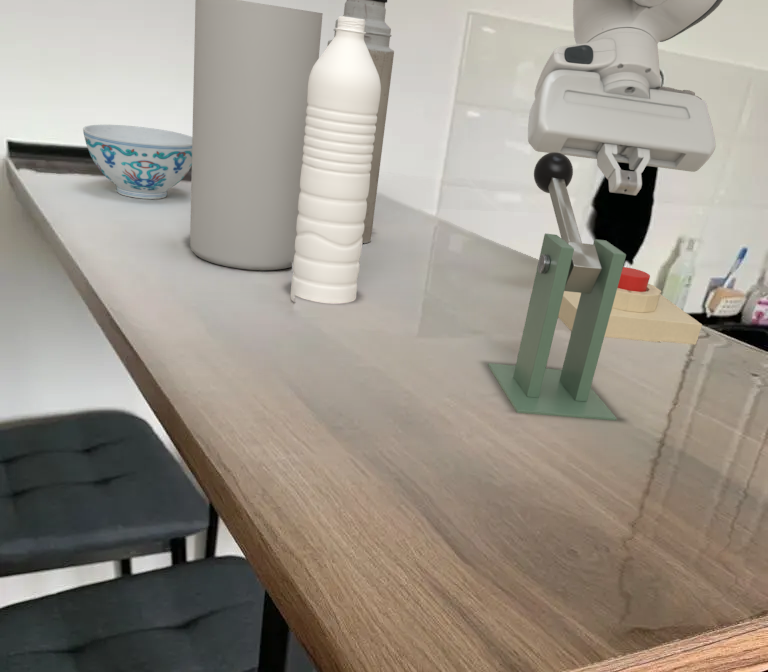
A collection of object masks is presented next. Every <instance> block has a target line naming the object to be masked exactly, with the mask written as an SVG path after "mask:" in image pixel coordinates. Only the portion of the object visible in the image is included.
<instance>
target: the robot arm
mask: <svg viewBox="0 0 768 672" xmlns="http://www.w3.org/2000/svg"><path fill="white" fill-rule="evenodd" d="M722 2H723V0H573V1H572V19H573V20H572V23H573V24H572V25H573V37H574V41H575V44H571V45H563V46H559V47H556V48H554V49H553V51H552V52H551V55H550V56H549V57H548V59H547V61H546V62H545V64H544V66H543V68H542V71H541V73H540V75H539V78H538V80H537V82H536V85H535V89H534V100H533V103H532V105H531V107H530V110H529V116H528V123H527V142H528V144H529V145H530V147H531V148H532V149H533V150H534V151H536V152H538V153H545V154H548V153H552V152H558V153H561V154H564V155H565V156H570V157H577V158H583V159H584V158H585V159H591V160H592V159H593V160H596V166H597V167H598V169H599V170H600V171H601V173H602V174H603V176H604V177H605V178H606V180H607V181H608V191H609V193H613V194H623V195H628V196H637V195H638V193H640V190H641V189H642V186H643V177H642V173H643V172H644V170H645V168H646V167H653V168H659V169H667V170H676V171H683V172H690V173H695V172H698V171H699V170H700V169H702V167H703V166H704V165H706V163H707V162H708V160H709V159H710V158H711V157H712V155H714V152H715V150H716V147H717V145H716V136H715V131H714V128H713V124H712V120H711V117H710V113H709V106H708V103H707V102H706V100H704V99H702V98H701V97H699V96H698V95H696V92H695V91H692V90H690V89H678V88H675V87H674V88H673V87H669V86H663V85H662V83H661V82H662V80H661V69H660V58H659V46H658V45H659V43H664V42H666V41H669V40H671V39H673V38H675V37H677V36H678V35H680V34H682V33H684V32H686V31H688V30H689V29H690V28H692V27H694V26H696V25H697V24H699V23H700V22H702V21H704V20H705V19H706V18H707V17H708V16H710V14H712V13H713V12H714V11H716V9H717V8H718V7H719V6H720V5H721V4H722ZM619 163H623V164H628V169H629V170H624V169H622V168H621V167H620V164H619Z"/></svg>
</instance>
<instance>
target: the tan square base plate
mask: <svg viewBox="0 0 768 672" xmlns="http://www.w3.org/2000/svg"><path fill="white" fill-rule="evenodd" d="M580 296H581V293H578V292H569V291H564V294H563V298H562V302H561V307H560V311H559V315H558V318H559V319H560V321H562V323H563V324H564V325H565V326H566V327H567V328H568V329H569V330H570V331H571V332H572V328H573V324H574V320H575V316H576V312H577V308H578V304H579V300H580ZM702 327H703V324H702V323H701V322H699V321H698V320H697V319H695V318H694V317H693V316H691V315H690V314H689V313H687V312H686V311H684V310H683V309H681V308H680V307H679V306H677V304H675V303H674V302H672V301H670V300H669V299H668V298H667V297H666V296H664V295H662V290H661V289H659V288H658V287H656V286H655V285H653V284H650V283H648V286H647V289H646V292H637V291H629V290H624V289H620V288H617V291H616V295H615V299H614V303H613V306H612V310H611V314H610V317H609V321H608V325H607V329H606V332H605V336H604V338H611V339H622V340H630V341H631V340H632V341H640V342H641V341H642V342H651V343H652V342H653V343H661V342H662V343H663V342H664V343H675V344H684V345H694V346H696V345H697V342H698V340H699V337H700V333H701V330H702Z"/></svg>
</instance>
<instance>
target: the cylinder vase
mask: <svg viewBox="0 0 768 672" xmlns="http://www.w3.org/2000/svg"><path fill="white" fill-rule="evenodd" d="M194 2H195V3H194V11H195V12H194V44H193V45H194V46H193V48H194V50H193V52H194V53H193V88H192V89H193V92H192V93H193V94H192V95H193V97H192V98H193V99H192V130H191V131H192V132H191V133H192V135H191V137H192V166H191V179H190V180H191V181H190V222H189V223H190V224H189V226H190V227H189V228H190V229H189V247H190V249H191V251H192V252H193V253H194V255H195V256H196V257H198V258H200V259H202V260H204V261H206V262H209V263H212V264H215V265H219V266H223V267H228V268H232V269H239V270H248V271H249V270H250V271H277V270H279V271H280V270H284V269H289V268H293V261H294V255H295V253H296V251H295V239H296V236H297V232H296V225H297V217H298V214H299V211H298V201H299V194H300V192H301V189H300V176H301V168H302V164H303V161H302V157H303V154H304V152H303V146H304V145H305V143H304V136H305V135H306V133H305V126H306V116H307V113H306V109H307V106H308V103H307V95H308V81H309V76H310V73H311V70H312V68H313V66H314V64H315V63H316V61H317V60H318V59H319V57H320V48H321V37H322V27H323V15H324V14H323V13H322V12H318V11H317V12H316V11H311V10H306V9H305V10H304V9H298V8H292V7H285V6H279V5H273V4H266V3H261V2H254V1H247V0H195V1H194Z"/></svg>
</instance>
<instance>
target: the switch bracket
mask: <svg viewBox="0 0 768 672" xmlns="http://www.w3.org/2000/svg"><path fill="white" fill-rule="evenodd" d="M592 245H595V248H596V251H597V254H598V258H599V261H600V265H601V268H602V269H601V272H600V274H599V276H598V278H597V280H596V282H595V284H594V287H593V289H592V291H591V293H590V294H588V293H581V296H580V300H579V304H578V308H577V312H576V316H575V320H574V324H573V328H572V331H571V332H570V336H569V341H568V344H567V349H566V353H565V357H564V360H563V364H562V368H561V369H558V368H549V367H548V368H547V365H548V360H549V356H550V353H551V348H552V344H553V340H554V336H555V332H556V327H557V323H558V320H559V319H558V318H559V317H558V315H559V311H560V307H561V302H562V298H563V294H564V290H565V286H566V281H567V277H568V273H569V269H570V265H571V260H572V256H573V252H574V248H573V247H572V246H570V245H569V244H568V243H566V242H565V241H564V240H563V239H561V236H560V235H558V234H553V233H544V234H543V240H542V244H541V248H540V252H539V253H540V254H539V257H538V263H537V267H536V272H535V275H534V280H533V285H532V291H531V294H530V298H529V303H528V308H527V312H526V315H525V316H526V317H525V322H524V326H523V330H522V336H521V340H520V344H519V348H518V353H517V358H516V362H515V364H513V365H512V364H503V363H502V364H501V363H491V362H488V363H487V367H488V369H489V370H490V371H491V373H492V374H493V376H494V378H495V380H496V382H497V383H498V384H499V387H500V388H501V391H503V393H504V394H505V396H506V398H507V400H508V401H509V403H510V404H511V406H512V407H513V409H514V411H515V412H516V413H517V414H528V415H540V416H552V417H553V416H554V417H564V418H565V417H567V418H579V419H591V420H603V421H617V420H618V419H617V417H616V415H615V414H614V413H613V412H612V411H611V409H610V408H609V407H608V406H607V404H605V402H604V401H603V400H602V399H601V397H600V396H599V395H598V394H597V393H596V392H595V391H594V389H593V388H592V384H593V380H594V378H595V377H594V376H595V373H596V370H597V365H598V362H599V358H600V355H601V350H602V346H603V343H604V341H605V337H604V336H605V332H606V329H607V325H608V321H609V317H610V314H611V310H612V306H613V303H614V299H615V295H616V291H617V288H618V284H619V280H620V276H621V273H622V269H623V267H624V264H625V261H626V257H627V254H626V253H625V252H623V251H622V250H621V249H619V248H618V247H617V246H614V244H611V242H609V241H607V240H604V239H598V238H597V239H594V240H593V243H592Z"/></svg>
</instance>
